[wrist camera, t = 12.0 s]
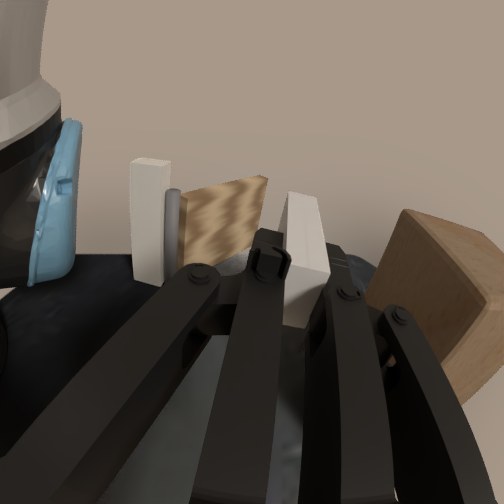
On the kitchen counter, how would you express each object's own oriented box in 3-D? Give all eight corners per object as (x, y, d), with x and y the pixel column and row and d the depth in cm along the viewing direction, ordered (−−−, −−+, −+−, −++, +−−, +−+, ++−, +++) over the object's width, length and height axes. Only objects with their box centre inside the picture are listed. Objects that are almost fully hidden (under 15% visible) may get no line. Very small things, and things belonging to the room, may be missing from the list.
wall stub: (134, 279, 36) (129, 162, 27) (141, 269, 38) (140, 157, 29) (173, 290, 35) (178, 169, 27) (179, 279, 37) (186, 163, 29)
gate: (182, 282, 37) (187, 198, 31) (170, 271, 38) (172, 191, 32) (254, 244, 49) (268, 178, 42) (241, 237, 50) (253, 172, 44)
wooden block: (314, 377, 28) (400, 204, 17) (389, 374, 29) (481, 230, 18) (328, 461, 19) (489, 301, 9) (411, 444, 20) (550, 304, 10)
